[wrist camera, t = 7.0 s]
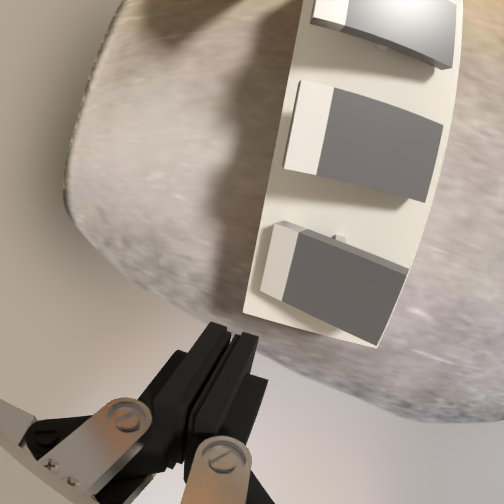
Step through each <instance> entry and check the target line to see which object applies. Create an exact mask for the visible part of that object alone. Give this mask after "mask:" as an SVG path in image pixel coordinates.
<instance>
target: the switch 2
mask: <svg viewBox="0 0 504 504" xmlns="http://www.w3.org/2000/svg"><path fill="white" fill-rule="evenodd" d="M442 131H443V125H442V124H439V123H437V122H435V121H432V120H430V119H427V118H425V117H422V116H420V115H417V114H415V113H412V112H410V111H407V110H404V109H401V108H399V107H396V106H393V105H390V104H387V103H384V102H381V101H378V100H375V99H372V98H369V97H366V96H362V95H359V94H356V93H352V92H349V91H345V90H342V89H338V88H335V87H331V86H327V85H323V84H319V83H315V82H311V81H307V80H302V79H301V80H300V81H299V82H298V87H297V92H296V97H295V102H294V107H293V113H292V118H291V123H290V128H289V133H288V138H287V143H286V148H285V153H284V158H283V163H282V166H283V168H284V169H289V170H294V171H298V172H303V173H308V174H313V175H318V176H322V177H327V178H331V179H335V180H340V181H344V182H348V183H352V184H356V185H360V186H364V187H368V188H372V189H376V190H380V191H384V192H387V193H391V194H395V195H398V196H402V197H406V198H409V199H413V200H416V201H420V202H423V203H425V201H426V198H427V194H428V190H429V187H430V183H431V179H432V175H433V171H434V167H435V163H436V159H437V154H438V150H439V145H440V140H441V136H442Z"/></svg>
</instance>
